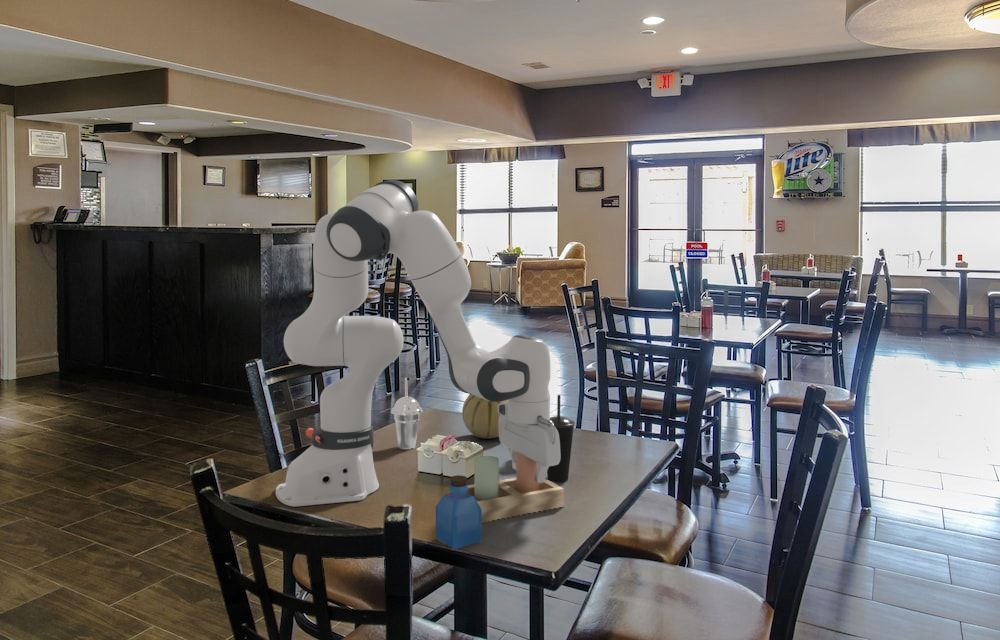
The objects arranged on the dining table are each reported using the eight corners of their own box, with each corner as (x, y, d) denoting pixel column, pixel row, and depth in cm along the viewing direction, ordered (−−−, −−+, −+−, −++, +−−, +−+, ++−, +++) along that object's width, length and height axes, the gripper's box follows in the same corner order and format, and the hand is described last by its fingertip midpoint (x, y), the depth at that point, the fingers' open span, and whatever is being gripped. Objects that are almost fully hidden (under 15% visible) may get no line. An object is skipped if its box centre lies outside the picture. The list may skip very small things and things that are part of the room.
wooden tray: (474, 524, 149) (474, 504, 149) (451, 506, 159) (451, 488, 158) (563, 507, 159) (564, 488, 159) (536, 491, 169) (537, 474, 168)
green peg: (481, 516, 153) (481, 464, 152) (470, 509, 158) (470, 457, 156) (502, 512, 156) (503, 460, 154) (491, 505, 160) (491, 454, 159)
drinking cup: (565, 472, 183) (566, 390, 180) (579, 481, 176) (581, 397, 173) (536, 475, 180) (537, 393, 178) (549, 485, 173) (551, 399, 171)
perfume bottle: (453, 549, 137) (453, 485, 136) (435, 538, 142) (435, 476, 141) (481, 541, 141) (481, 479, 140) (463, 531, 146) (463, 470, 145)
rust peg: (543, 504, 160) (544, 454, 159) (523, 508, 158) (523, 457, 157) (531, 497, 165) (532, 448, 164) (511, 501, 162) (512, 451, 161)
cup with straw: (427, 444, 207) (427, 372, 204) (415, 453, 198) (415, 378, 196) (398, 441, 209) (397, 370, 207) (385, 450, 200) (384, 376, 198)
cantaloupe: (489, 428, 224) (489, 378, 222) (524, 438, 213) (524, 385, 212) (450, 437, 214) (450, 385, 212) (485, 447, 203) (485, 393, 202)
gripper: (568, 420, 151) (567, 487, 153) (518, 400, 169) (517, 460, 171) (541, 424, 149) (540, 492, 150) (493, 403, 166) (493, 464, 168)
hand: (528, 475), depth 161 cm, fingers open, 8 cm apart
